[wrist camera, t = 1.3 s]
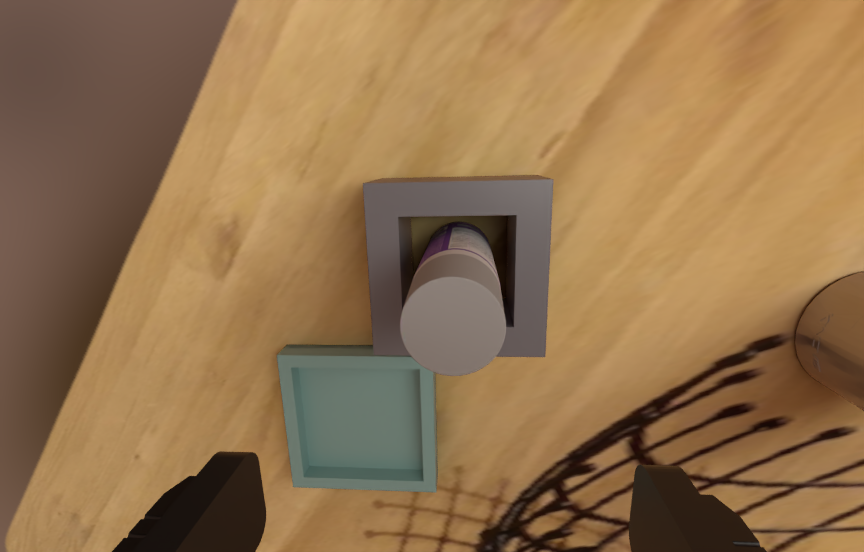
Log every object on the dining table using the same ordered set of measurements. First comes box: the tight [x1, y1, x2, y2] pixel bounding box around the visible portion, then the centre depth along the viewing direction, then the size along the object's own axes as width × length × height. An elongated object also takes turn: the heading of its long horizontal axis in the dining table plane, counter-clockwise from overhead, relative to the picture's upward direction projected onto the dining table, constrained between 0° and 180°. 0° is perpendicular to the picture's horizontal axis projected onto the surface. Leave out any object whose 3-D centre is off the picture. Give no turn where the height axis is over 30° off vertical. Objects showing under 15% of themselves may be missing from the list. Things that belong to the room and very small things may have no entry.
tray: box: [277, 345, 438, 492], centre depth 36 cm, size 12×12×2 cm
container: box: [400, 222, 506, 376], centre depth 26 cm, size 5×5×15 cm
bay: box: [363, 175, 553, 357], centre depth 30 cm, size 11×11×6 cm
